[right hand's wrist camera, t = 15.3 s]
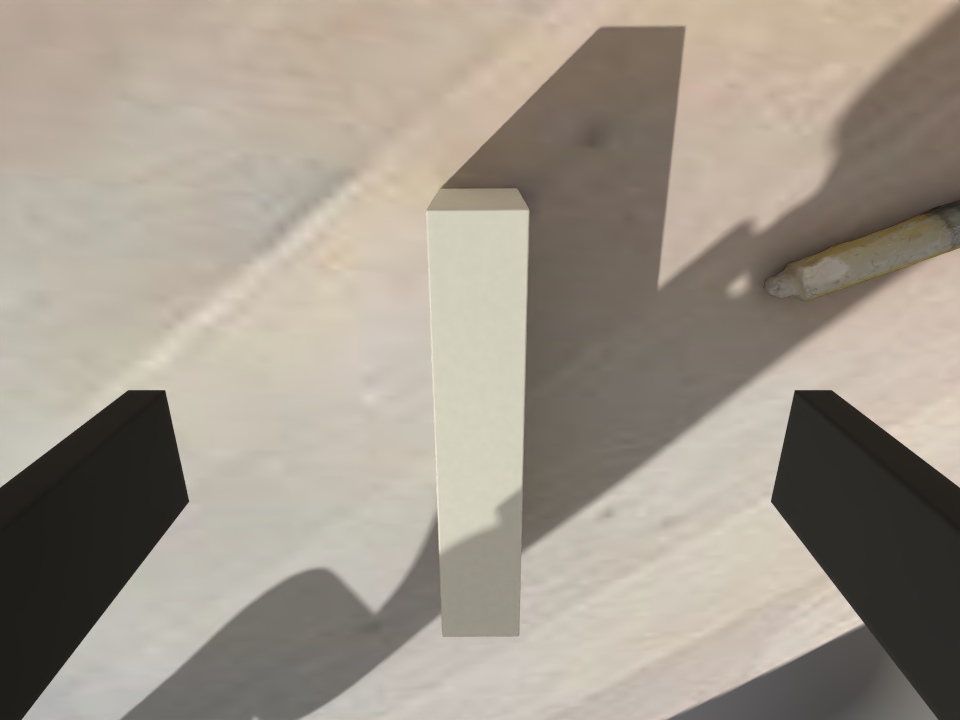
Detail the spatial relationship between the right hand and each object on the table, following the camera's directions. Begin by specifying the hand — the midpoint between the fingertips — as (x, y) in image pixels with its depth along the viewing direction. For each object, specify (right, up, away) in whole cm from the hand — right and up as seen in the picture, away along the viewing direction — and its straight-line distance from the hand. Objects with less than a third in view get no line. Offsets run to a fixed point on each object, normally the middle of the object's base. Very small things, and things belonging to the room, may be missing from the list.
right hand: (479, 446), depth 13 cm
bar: (0, 0, +25) cm, 25 cm away
